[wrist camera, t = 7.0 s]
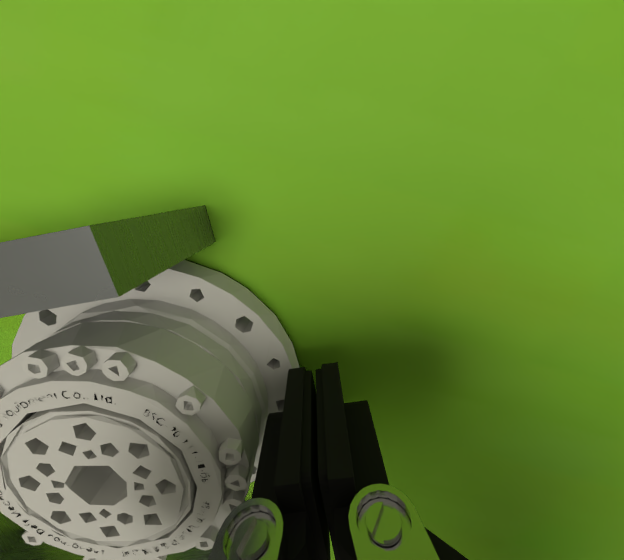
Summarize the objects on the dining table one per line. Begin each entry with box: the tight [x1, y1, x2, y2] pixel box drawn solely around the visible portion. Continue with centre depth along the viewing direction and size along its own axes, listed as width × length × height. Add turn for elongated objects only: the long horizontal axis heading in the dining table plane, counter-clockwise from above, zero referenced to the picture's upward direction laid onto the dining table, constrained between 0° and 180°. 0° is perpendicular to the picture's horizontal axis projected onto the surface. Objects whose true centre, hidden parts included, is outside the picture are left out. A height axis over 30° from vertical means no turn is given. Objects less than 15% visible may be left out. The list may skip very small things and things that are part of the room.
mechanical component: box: [0, 260, 299, 560], centre depth 9 cm, size 10×4×10 cm
